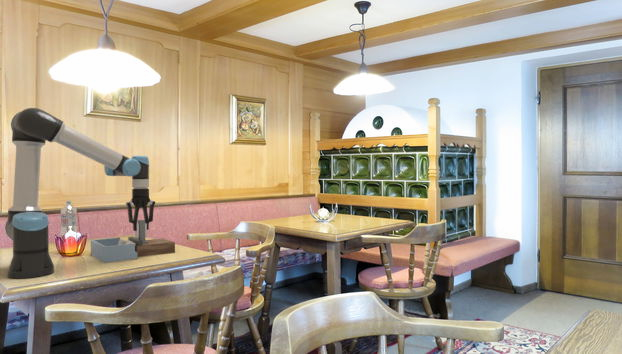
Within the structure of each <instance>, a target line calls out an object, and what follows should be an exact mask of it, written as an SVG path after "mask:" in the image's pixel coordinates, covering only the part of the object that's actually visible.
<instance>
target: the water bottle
mask: <svg viewBox="0 0 622 354" xmlns="http://www.w3.org/2000/svg"><path fill="white" fill-rule="evenodd" d="M71 203H72V202H71V201H70V200H69V201H66V204H65V205H64V206H63V207H62V208H61V210H60V236H61V235H63V234H66V233H67V232H68V231H69V230H72V231H74V232H77V233H78V225H77V224H78V222H77V221H78V220H77V217H78V216H77V211H78V210H77V208H76V207H75V206H74V205H73V204H71Z"/></svg>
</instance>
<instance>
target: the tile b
mask: <svg viewBox="0 0 622 354" xmlns="http://www.w3.org/2000/svg"><path fill="white" fill-rule="evenodd" d="M127 241H128V240H126V239H122V238H120V240H119V243H118V245H123V244H126V242H127Z"/></svg>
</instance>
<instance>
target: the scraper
mask: <svg viewBox="0 0 622 354" xmlns="http://www.w3.org/2000/svg"><path fill="white" fill-rule="evenodd" d="M137 224H139V238H136V237H135V236H134V235H133V236H128V237H127V238H128V239H127V241H128V240H129V241H131V242H133V243H135V245H137V246H143V244H147V243H148V241H146V240H147V239H146V237H145V220H144V219H138V220H137Z"/></svg>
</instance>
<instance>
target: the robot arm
mask: <svg viewBox="0 0 622 354" xmlns="http://www.w3.org/2000/svg"><path fill="white" fill-rule="evenodd" d="M10 128H11V131H12V132H11V133H12V134H11V135H12V137H11V142H12V143H13V145H14V146H15V159H14V161H15V163H14V181H13V182H14V183H13V199H12V205H11V206H10V207H9V208H8V210H7V220H6V222H5V234H6V235H7V236H8V238H9V239H10V240H12V258H11V261H10V264H9V265H8V269H7V277H8V278H10V279H30V278H39V277H43V276H49V275H50V274H53V273H55V265H54V263H53V262H54V261H53V260H52V258H51V255H50V251H49V248H50V247H49V242H50V241H49V224H50V223H49V222H50V221H49V216H48V214H46V213H44V212H43V211H42V210H43V209H42V208H41V207H40V206H39V190H40V189H39V187H40V172H41V171H40V170H41V154H42V153H41V152H42V148H43V147H44V146H45V145H46V142H49V143H57V144H59V145H61V146H64V147H65V148H68V149H69V150H71V151H73V152H76V153H77V154H80V155H82V156H83V157H86V158H89V160H92V161H95V162H97V163H98V164H101V165H102V166H104V174H105V175H106V176H107V177H131V182H132V183H131V184H132V185H131V187H132V189H131V191H132V192H131V194H132V195H131V200H130V201H127V202H125V205H126V207H127V215H128V222H129V224H130V223H131V224H132V230H133V232H135V233H134V237H135V238H139V224H138V220H139V219H138V218H139V212H140V211H139V210H140V209H142V212H143V220H145V238H147V237H148V230H149V229H150V227H149V226H150V225H149V224H150V223H152V222H153V221H154V208H155V207H154V206H155V204H156V201H153V200H151V199H150V189H149V187H150V162H149V156H147V155H132V156H131V158H130V157H128V156H125V155H123V154H122V153H120V152H118V151H116V150H114V149H112V148H110V147H108V146H106V145H104V144H102V143H100V142H98V141H97V140H95V139H92V138H90V137H88V136H87V135H85V134H82V133H81V132H79V131H77V130H75V129H73V128H71V127H69V126H67V125H66V124H65V123H64V121H63V120H61V119H58V118H57V117H56V116H54V115H52V114H50V113H49V112H47V111H45V110H43V109H41V108H38V107H37V108H36V107H29V108H26V109H25V108H24V109H23V110H22V111H18V112H17V113H16V114H15V115H14V116H13V117H12V119H11V122H10ZM132 205H134V212H133V207H132ZM148 205H149V210H148V207H147V206H148ZM148 211H149V213H148Z"/></svg>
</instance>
